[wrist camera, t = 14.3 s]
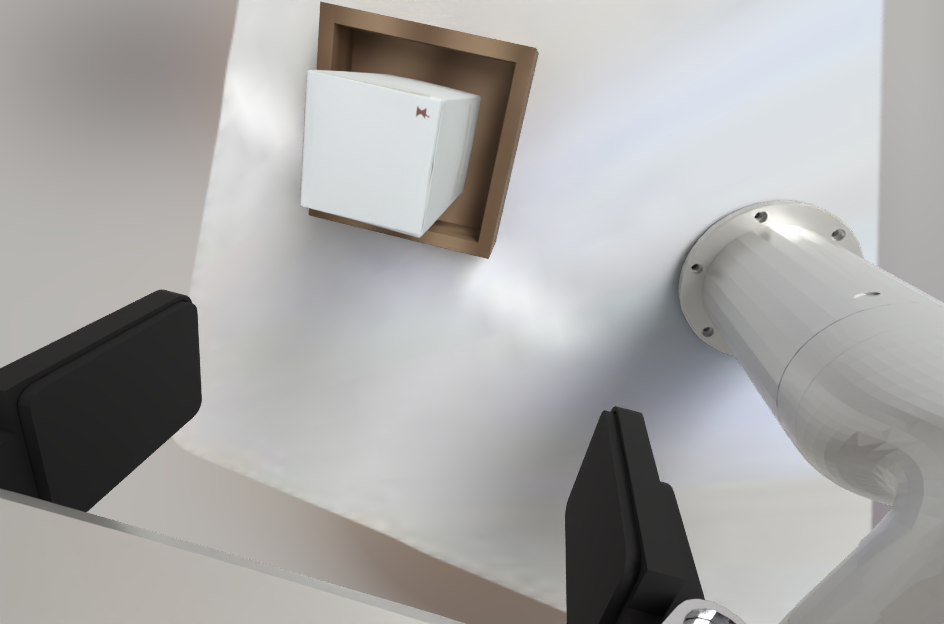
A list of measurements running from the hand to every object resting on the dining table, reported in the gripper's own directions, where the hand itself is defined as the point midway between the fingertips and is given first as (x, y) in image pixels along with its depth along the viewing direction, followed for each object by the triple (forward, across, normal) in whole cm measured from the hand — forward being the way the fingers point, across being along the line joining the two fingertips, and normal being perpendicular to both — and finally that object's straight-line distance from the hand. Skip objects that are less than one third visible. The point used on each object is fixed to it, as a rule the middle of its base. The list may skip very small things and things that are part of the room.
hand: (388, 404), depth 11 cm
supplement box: (+30, +7, -2) cm, 30 cm away
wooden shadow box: (+30, +7, -2) cm, 31 cm away
